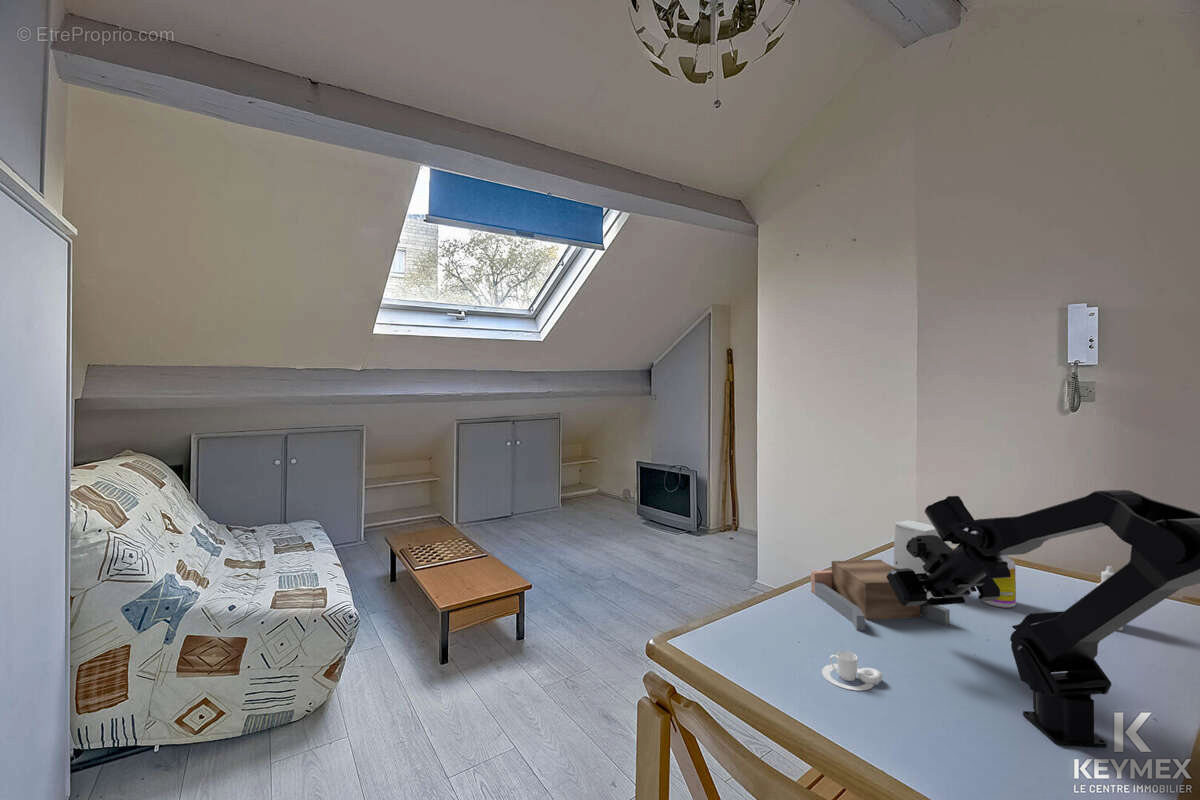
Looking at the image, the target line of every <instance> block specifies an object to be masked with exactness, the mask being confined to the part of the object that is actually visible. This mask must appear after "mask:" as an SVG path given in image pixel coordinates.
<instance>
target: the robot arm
mask: <svg viewBox="0 0 1200 800" xmlns="http://www.w3.org/2000/svg"><path fill="white" fill-rule="evenodd" d="M924 513H925V515H926V517H927V519H928V520H929V522H930V523H931V526H934V528H935V529H936V531H937V532H938V534H939V536H940V537H941V538H940V537H938V536H935V535H923V536H916V537H912V539H911V540H909V541H908V543H907V545H906V549H907V551H908V552H909V553H910V554H911V555H912V556H913V557H919V558H920V559H921V560H922V561H923V562H924V563H925V564H924V565H923V566H922V567H923V568H924V570H925V572H926V573H919V574H915V572H914V570H911V569H909V568H905V569H892V570H891V571H890V572H889V573H888V574H887V576H886V577H887V579H888V581H889V583H890V585H891V587H892V589H893V591H894V593H895V595H896V597H897V598H898V600H899V602H900V604H902V605H903V606H918V605H919V606H920V607H924V606H936V605H938V606H947V605H958V604H961V605H962V604H965V603H966V600H965V598H964V597H970V595H972V593H976V592H977V591H978V596H977V598H978V599H979V601H980V602H983V601H994V600H996V599H997V598H998V597H1000V588H999V587H998V586H997V584H996V583H995V581H994V580H993V579H994V578H1009V577H1011V574H1010V570H1009V569H1008V563H1007V562H1006V561H1003V560H1002V558H1001V556H1000V555H1008V556H1011V555H1012V556H1013V555H1016V556H1017V555H1025V554H1028V553H1030V552H1033V551H1034V550H1036V549H1038V548H1040V547H1042V545H1043V544H1044V543H1045V542H1047V541H1049V540H1051V539H1056V538H1061V537H1065V536H1069V535H1074V534H1078V533H1082V532H1085V531H1086V532H1087V531H1090V530H1095V529H1098V528H1103V527H1108V528H1110V530H1111V531H1112V532H1113V533H1115V535H1116V536H1117V537H1118V538H1119V539H1120V540H1122V541H1123V542H1125V543H1126V544H1128V545H1130V546H1131V548H1130V549H1131V550H1130V558H1129V561H1128V562H1127V563H1126V564H1125V565H1124V566H1123V567H1121V568H1120V569H1118V570H1117V571H1116V572H1114V573H1115V574H1113V575H1112V576H1111V577H1109V578H1108V579H1107V580H1105V581H1104V582H1103V583H1101V584H1100V585H1099V586H1097V585H1096V586H1095V587H1094V588H1093V589H1092V590H1090V591H1089V592H1088V593H1086V594H1085V595H1084V596H1082V597H1081V598H1080V599H1079V600H1077V601H1076V602H1075V603H1073V604H1072V605H1071V606H1069V607H1068V608H1067V609H1065V610H1064V611H1048V612H1034V613H1031V612H1030V613H1029V614H1027V615H1026V616H1024V619H1022V621H1021V622H1020V623H1018V624H1014V625H1012V626H1011V627H1012V628H1013V630H1014V631H1013V632H1012V633H1011V635H1010V638H1009V640H1010V642H1011V643H1010V646H1011V647H1010V648H1011V651H1012V655H1013V658H1014V662H1015V664H1016V665H1015V666H1016V668H1017V672H1018V675H1019V678H1020V681H1022V682H1023V683H1025V684H1026V685H1028V687H1029V689H1030V690H1031V691H1032V694H1033V695H1032V709H1033V711H1031V710H1030V711H1027V710H1023V711H1022V715H1023V717H1024V718H1026V719H1027V720H1028V721H1029V722H1030V723H1031V724H1032V725H1034V727H1036V728H1037V729H1039V731H1040V732H1041V733H1043V734H1044V735H1045V736H1046V737H1047V738H1048V739H1050V740H1051V741H1052V742H1054V743H1055V744H1056V745H1063V746H1065V745H1066V746H1082V747H1083V746H1084V747H1098V748H1099V747H1101V748H1106V747H1108V742H1107V741H1106V740H1104V739H1103V738H1102V737H1101V736H1100V735H1098V734H1097V733H1096V732H1095V700H1094V699H1092V696H1091V695H1100V694H1101V695H1107V694H1108V693H1109V690H1110V689H1111V687H1112V682H1111V680H1110V679H1109V678H1108V676H1107V675H1106V673H1105V672H1104V670H1103V669H1102V668H1101V666H1100V665H1099V664H1098V663H1097V660H1095V658H1096V657H1097V656H1098V653H1099V652H1098V651H1099V648H1098V647H1099V643H1100V642H1101V641H1102V640H1104V639H1106V638H1107V637H1109V636H1110V635H1112V634H1114V633H1115V632H1116V631H1119V630H1118V629H1119V628H1121V627H1122V626H1123V627H1124V626H1125V625H1127V624H1128V623H1130V622H1132V621H1134V620H1135V619H1136V618H1138V617H1139V616H1141V615H1142V614H1144V613H1145V612H1147V611H1149V610H1150V609H1152V608H1153V607H1155V606H1156V605H1158V604H1159V603H1161V602H1163V601H1165V600H1166V599H1168V598H1169V597H1170V596H1172V595H1174V594H1175V593H1176V592H1178V591H1179V590H1182V589H1184V588H1188V587H1191V586H1195V585H1199V584H1200V513H1198V512H1196V511H1192V510H1189V509H1186V508H1182V507H1178V506H1176V505H1172V504H1169V503H1164V502H1161V501H1159V500H1158V501H1157V500H1155V499H1152V498H1149V497H1147V496H1145V495H1143V494H1140V493H1138V492H1134V491H1132V490H1129V489H1109V490H1108V489H1107V490H1094V491H1093V492H1091V493H1089V494H1088V495H1085V496H1082V497H1079V498H1075V499H1072V500H1068V501H1065V502H1062V503H1059V504H1055V505H1052V506H1049V507H1046V508H1042V509H1038V510H1034V511H1032V512H1029V513H1026V514H1022V515H1019V516H1007V517H1006V516H1003V517H1002V516H1001V517H991V518H979V519H977V518H976V519H974V516H972V514H971V513H970V511H969V510H968V509H967V507H966V506H965V504H964V502H963V500H962V498H961V497H960V496H959V495H947V496H946V498H945V499H941V500H938V501H936V502H934V503H932V504H929V505H927V507H926V508H925V509H924ZM946 542H950V543H951V544H952V545H957V546H956V547H955V548H952V547H951V546H950V545H949V544H948V543H946ZM927 572H928V573H929V575H927ZM979 593H980V594H981V595H979Z"/></svg>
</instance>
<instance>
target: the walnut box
mask: <svg viewBox="0 0 1200 800" xmlns="http://www.w3.org/2000/svg"><path fill="white" fill-rule="evenodd" d="M892 569H896V568H895V567H894V565H891V564H889V563H887V562H885V561H884V560H882V559H860V560H859V559H857V560H855V559H853V560H832V561H831V570H832V590H834V591H835V592H837V593H838V594H840V595H841V596H843V597H844V598H846V599H847V600H848V601H850V602H851V603H853V604H854V605H856V606H857V607H859V608H860V609H861V611H862V613H863V614H864V616H865V621H866V620H867V621H868V620H891V619H917V618H921V615H920V606H919V605H918V606H903V605H902V604H900V602H899V600H898V598H897V597H896V595H895V593H894V591H893V589H892V587H891V585H890V583H889V581H888V579H887V577H886V576H887V574H888V573H889V572H890V571H891V570H892Z"/></svg>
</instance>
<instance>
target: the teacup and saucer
mask: <svg viewBox="0 0 1200 800" xmlns="http://www.w3.org/2000/svg"><path fill="white" fill-rule="evenodd" d="M832 658H835V659H836V661H837V663H833V662H832ZM858 659H859V658H858V656H857V655H856V654H854V653H853V652H850V651H847V650H841V651H838V652H837V654H831V655H830V657H829V663H830V664H827V665H825V666H823V668H822V670H821V673H822V676H823V678H825V679H826V680H827V681H828V682H829V683H830V684H832V685H835V686H836V687H839V688H842V689H845V690H849V691H856V692H857V691H860V692H861V691H868V690H871V689H872V688H874V686H875V685H876V684H879V683H880V682H882V680H883V675H882V673H881V672H880V671H879V670H878V669H875V668H872V667H863V668H859V667H858ZM833 670H834V671H835V672H836V673H837V674H838V675H840V676H839V677H840V678H841V679H843V680H845V681H847V682H853V681H854V680H855V679H856V677H857V678H858V679H859V680H860V681H861V682H863V684H861V685H857V686H854V685H853V686H852V685H847V684H843V683H840V681H839V682H838V680H835V679H834V678H833V677H832V675H831V672H832V671H833Z"/></svg>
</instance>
